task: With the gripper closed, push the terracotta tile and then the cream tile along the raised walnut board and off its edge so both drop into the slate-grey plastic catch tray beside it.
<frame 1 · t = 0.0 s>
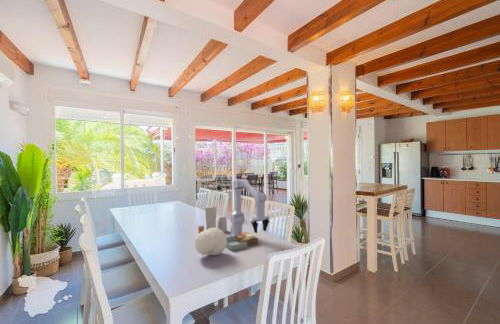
hand: (260, 231, 159), 10 cm above the table, fingers open, 7 cm apart
tile a: (245, 235, 169), point 4 cm above the table, touching board
toiletry set: (212, 233, 187), on the table
tray: (233, 245, 160), on the table
tile b: (249, 237, 164), point 4 cm above the table, touching board
cauliflower: (211, 256, 142), on the table
board: (246, 242, 167), on the table
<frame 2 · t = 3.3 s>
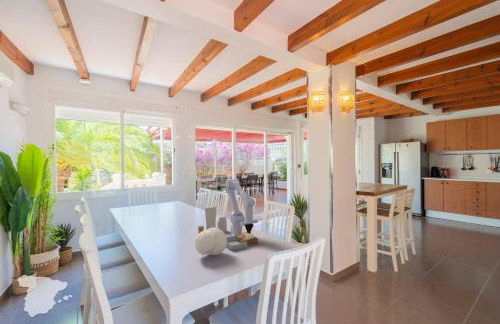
hand: (248, 234, 171), 5 cm above the table, fingers closed
tile a: (245, 235, 169), point 4 cm above the table, touching board, gripper
everything else where it was.
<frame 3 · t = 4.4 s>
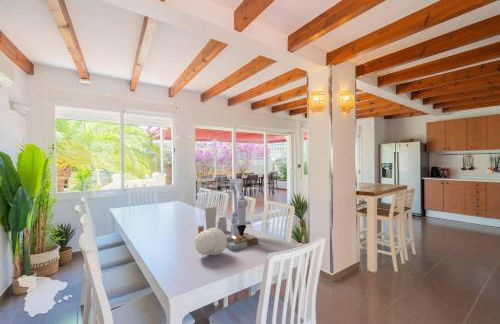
hand: (241, 235, 167), 5 cm above the table, fingers closed
tile a: (236, 238, 165), point 3 cm above the table, tilted 127°, touching tray
everything else where it was.
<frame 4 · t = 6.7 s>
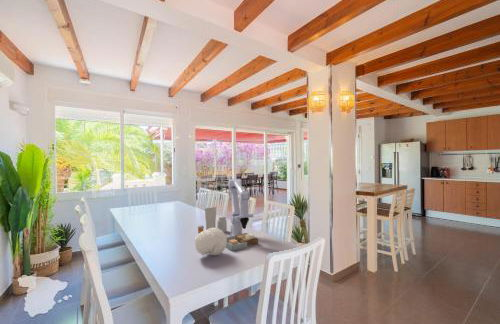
hand: (244, 228, 167), 10 cm above the table, fingers closed
tile a: (233, 240, 163), point 2 cm above the table, tilted 180°, touching tray
everything else where it was.
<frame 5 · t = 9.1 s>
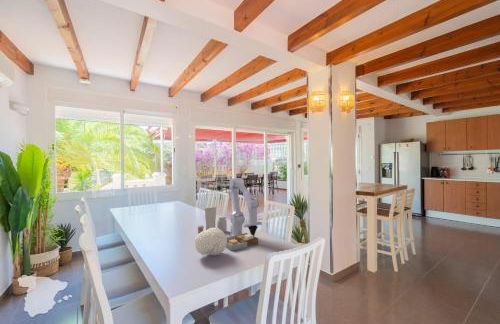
hand: (252, 236, 166), 5 cm above the table, fingers closed
nothing on the table moved.
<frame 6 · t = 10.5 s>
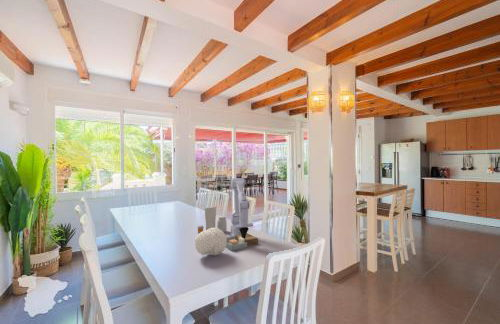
hand: (243, 238, 161), 5 cm above the table, fingers closed
tile b: (242, 241, 161), point 3 cm above the table, tilted 96°, touching tray
everything else where it was.
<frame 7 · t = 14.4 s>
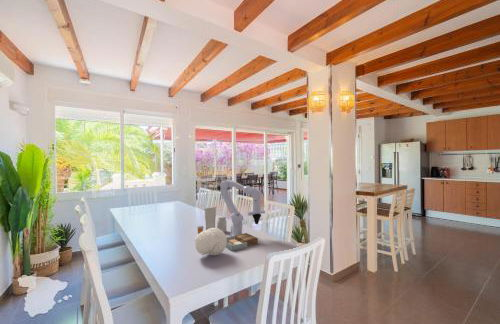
hand: (256, 223, 177), 10 cm above the table, fingers closed
tile b: (237, 242, 159), point 2 cm above the table, tilted 180°, touching tray
everything else where it was.
at the end: tile a inside the target area (3.0 cm from its centre), point 2.5 cm above the table; tile b inside the target area (3.5 cm from its centre), point 2.5 cm above the table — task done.
